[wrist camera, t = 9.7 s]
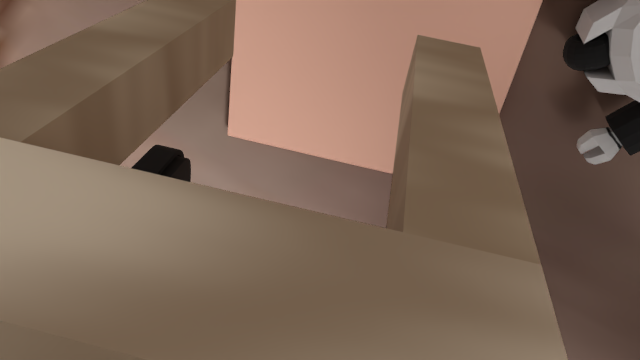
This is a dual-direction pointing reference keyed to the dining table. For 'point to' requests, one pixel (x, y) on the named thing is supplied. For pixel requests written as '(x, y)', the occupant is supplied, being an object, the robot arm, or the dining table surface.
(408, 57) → the terracotta mat
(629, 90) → the robot toy
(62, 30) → the dining table surface
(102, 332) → the birch stool
